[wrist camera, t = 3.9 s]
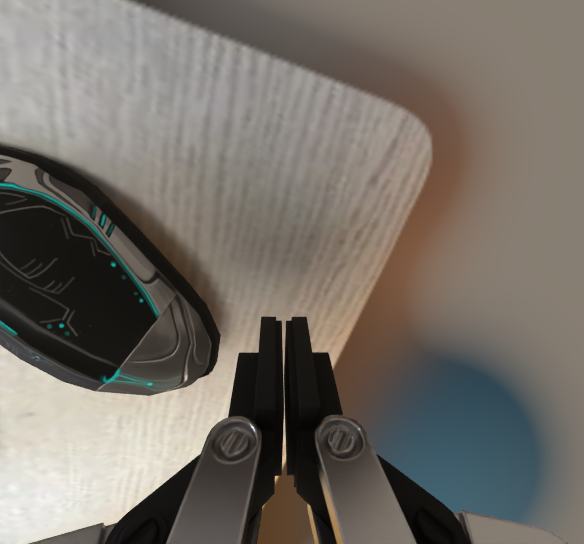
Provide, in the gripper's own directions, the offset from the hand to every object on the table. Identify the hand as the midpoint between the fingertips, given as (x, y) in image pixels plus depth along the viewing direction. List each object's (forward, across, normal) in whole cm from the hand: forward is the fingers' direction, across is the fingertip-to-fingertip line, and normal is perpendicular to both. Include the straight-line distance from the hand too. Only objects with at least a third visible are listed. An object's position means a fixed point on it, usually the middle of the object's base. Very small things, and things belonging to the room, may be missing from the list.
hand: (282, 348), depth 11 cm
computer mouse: (+7, +10, 0) cm, 12 cm away
